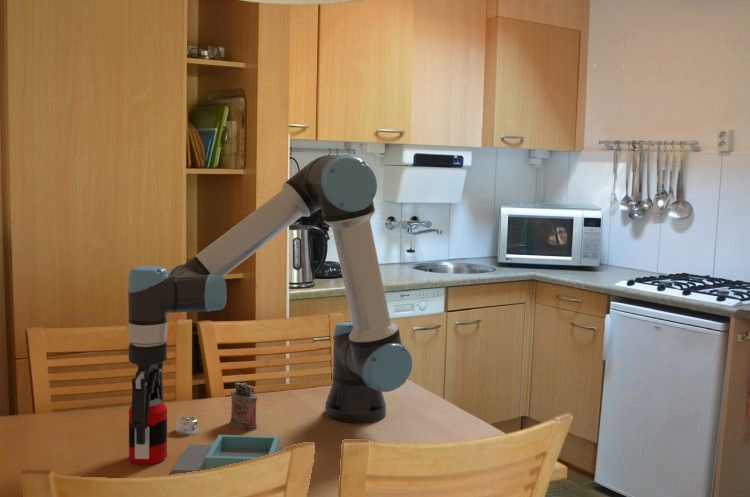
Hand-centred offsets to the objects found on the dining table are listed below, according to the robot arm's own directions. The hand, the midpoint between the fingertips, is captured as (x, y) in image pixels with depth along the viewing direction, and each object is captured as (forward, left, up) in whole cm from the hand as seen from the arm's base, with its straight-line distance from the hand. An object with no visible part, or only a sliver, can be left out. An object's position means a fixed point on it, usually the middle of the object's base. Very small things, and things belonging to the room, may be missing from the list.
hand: (148, 450), depth 163 cm
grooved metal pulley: (-4, -17, -2) cm, 18 cm away
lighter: (-16, -22, -2) cm, 27 cm away
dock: (-17, +1, -2) cm, 17 cm away
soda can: (0, 0, -2) cm, 2 cm away
